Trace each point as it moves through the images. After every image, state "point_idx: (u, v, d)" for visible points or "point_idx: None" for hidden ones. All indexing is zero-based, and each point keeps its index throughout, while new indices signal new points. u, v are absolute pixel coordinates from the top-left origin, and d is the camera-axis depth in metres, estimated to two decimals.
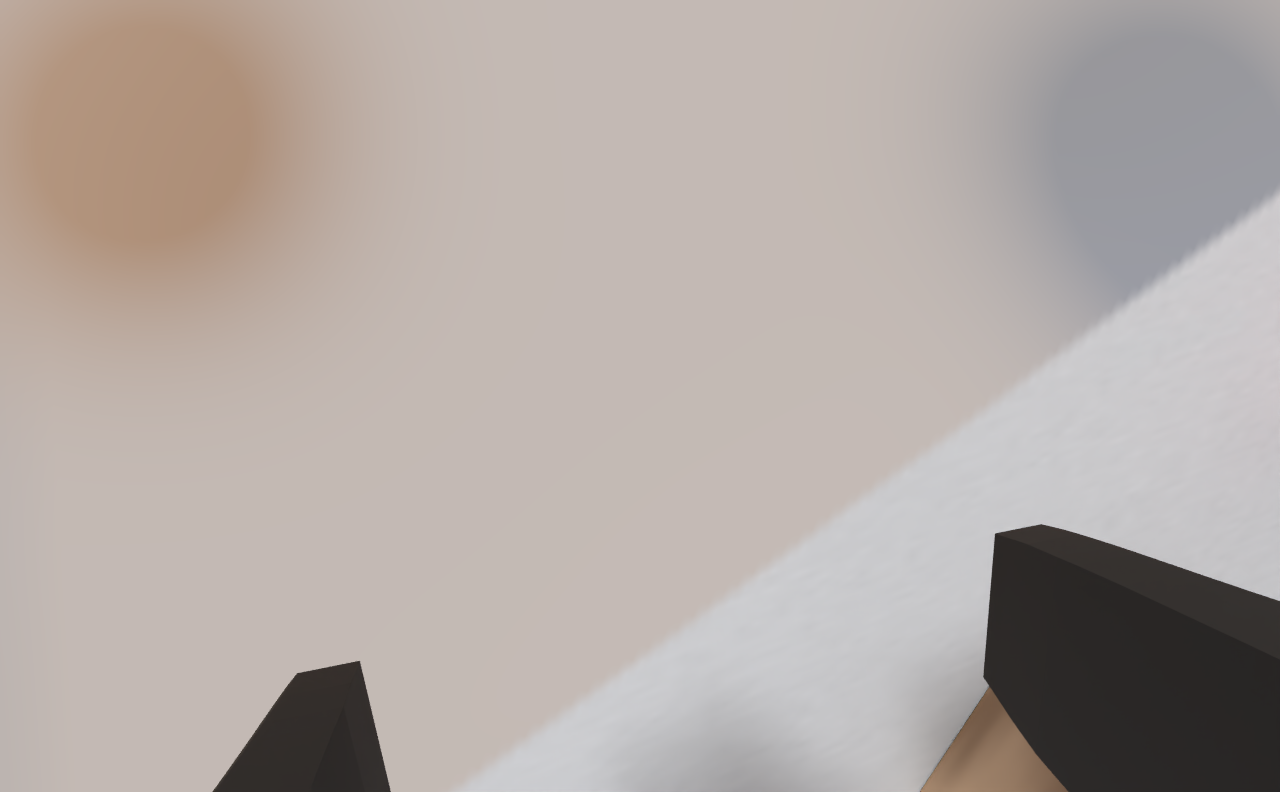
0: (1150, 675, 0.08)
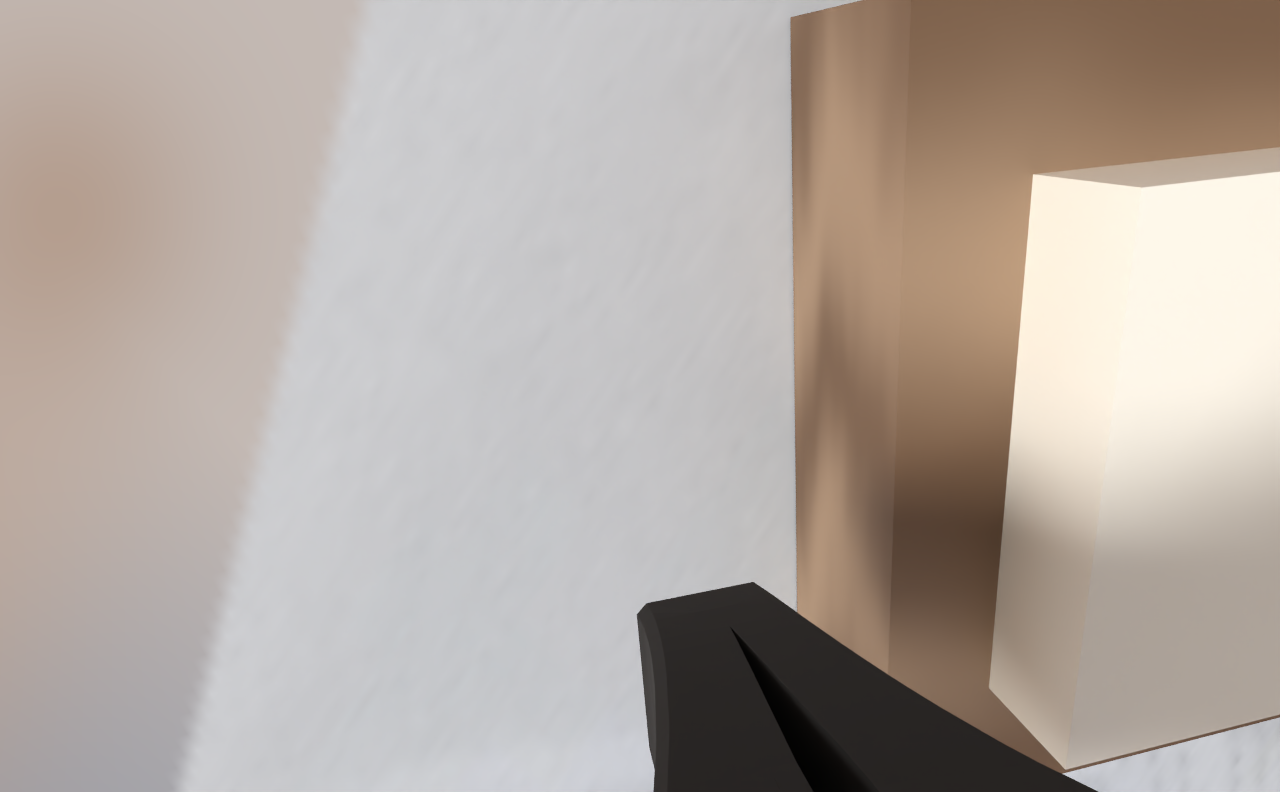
0: None
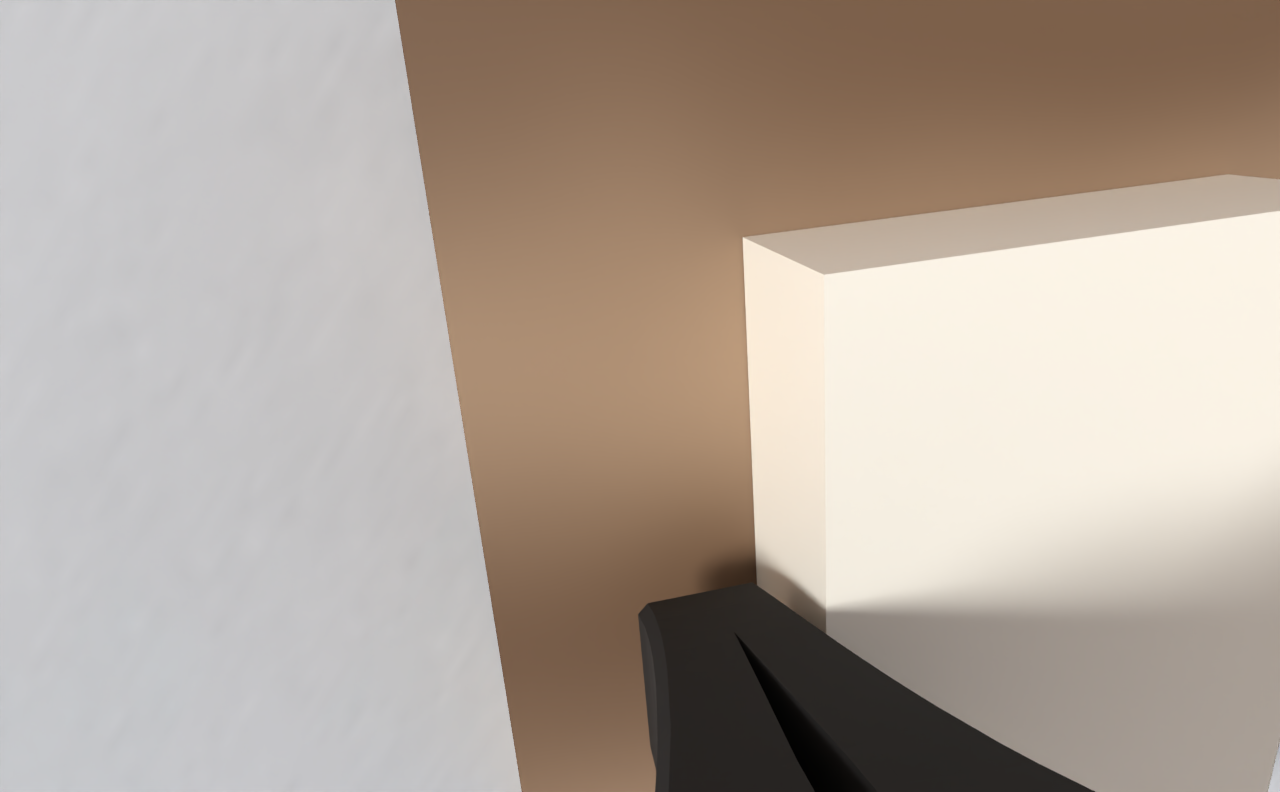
0: None
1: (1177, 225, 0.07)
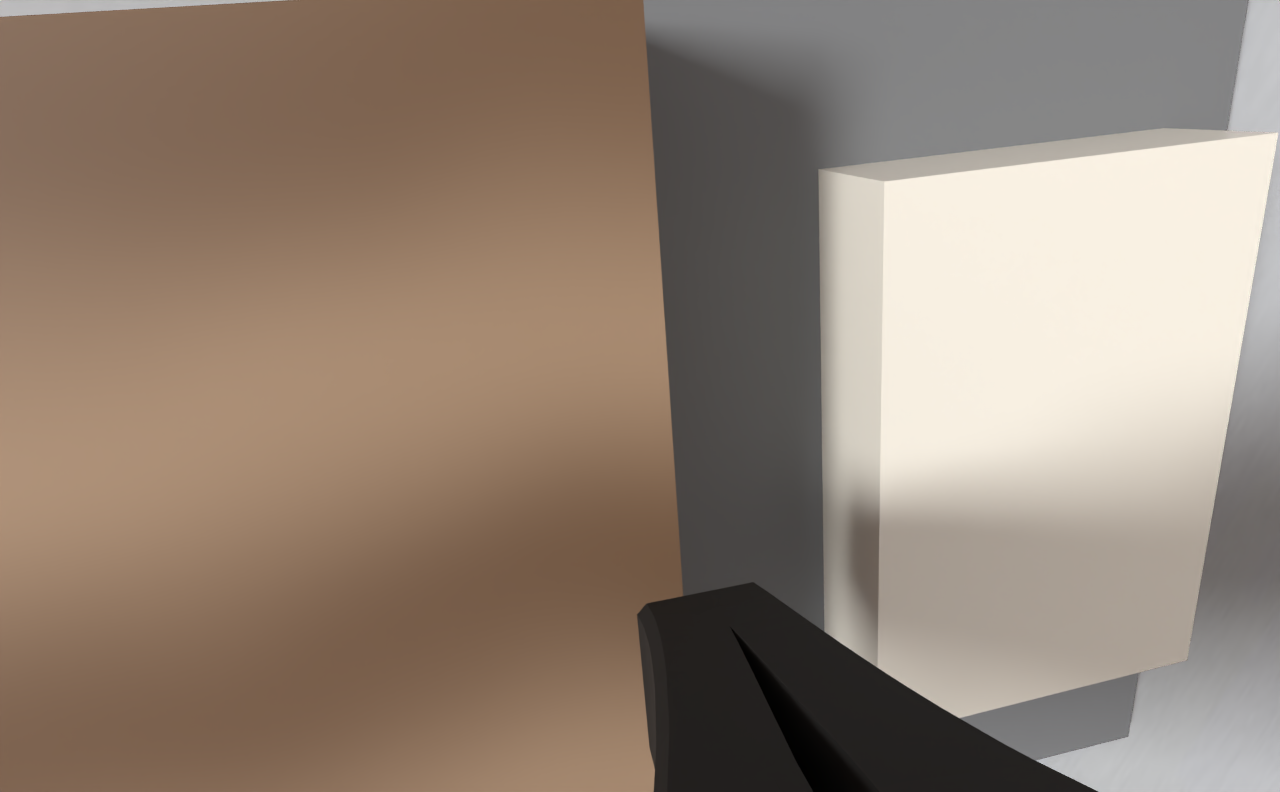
0: None
1: None
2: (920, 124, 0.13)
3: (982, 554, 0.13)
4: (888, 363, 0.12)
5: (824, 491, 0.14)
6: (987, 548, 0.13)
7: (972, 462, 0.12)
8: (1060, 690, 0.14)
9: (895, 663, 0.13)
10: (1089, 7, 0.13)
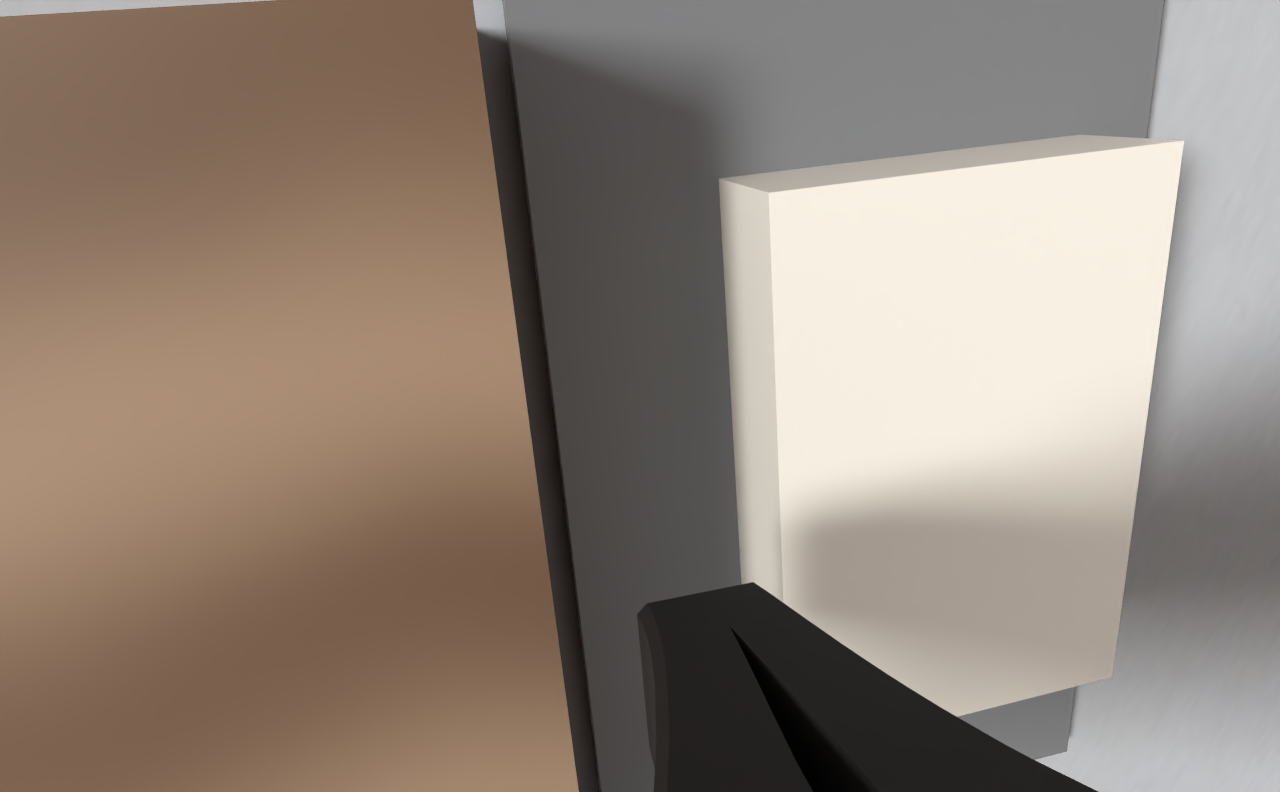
0: None
1: None
2: (824, 132, 0.12)
3: (891, 571, 0.13)
4: (783, 378, 0.11)
5: (738, 506, 0.14)
6: (896, 565, 0.13)
7: (876, 478, 0.12)
8: (980, 708, 0.14)
9: None
10: (997, 11, 0.12)
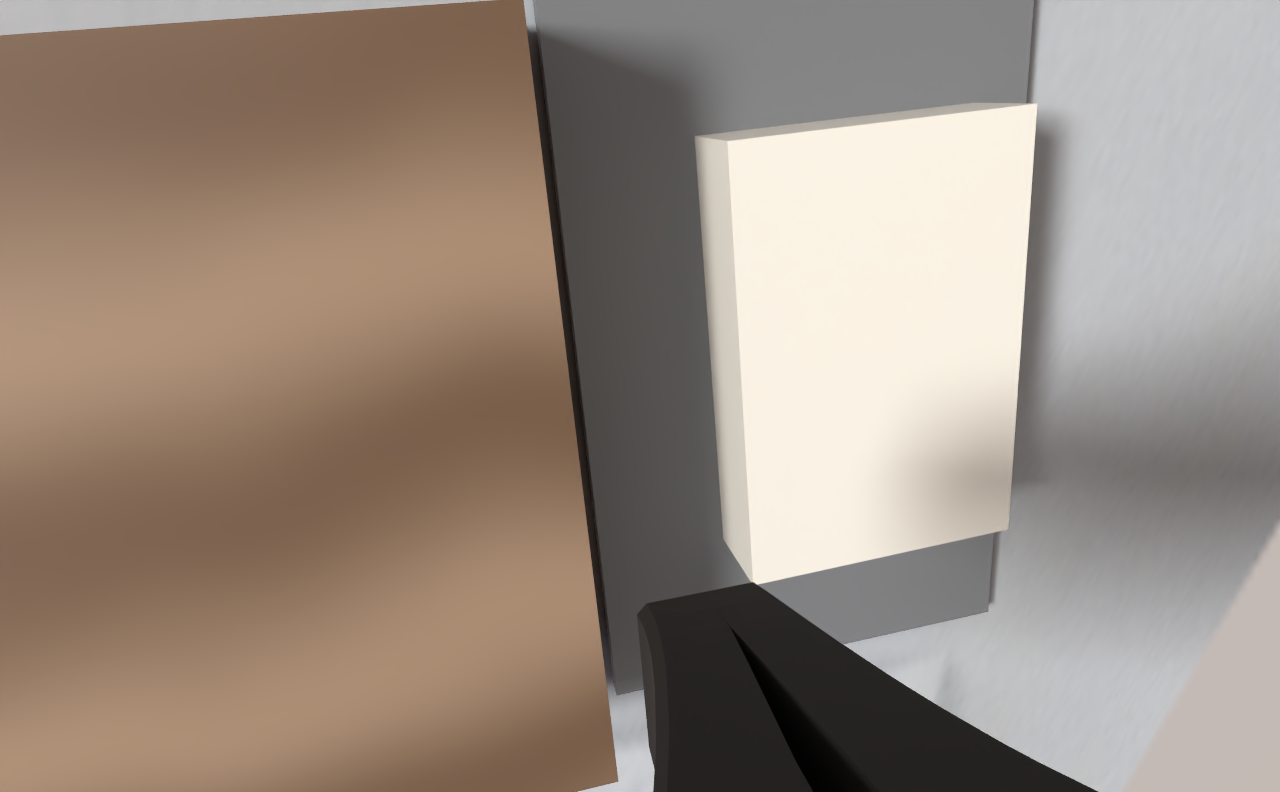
0: None
1: (819, 121, 0.17)
2: (774, 100, 0.16)
3: (828, 434, 0.17)
4: (741, 280, 0.15)
5: (714, 394, 0.18)
6: (831, 429, 0.17)
7: (814, 359, 0.16)
8: (903, 550, 0.18)
9: (764, 522, 0.17)
10: (904, 9, 0.16)
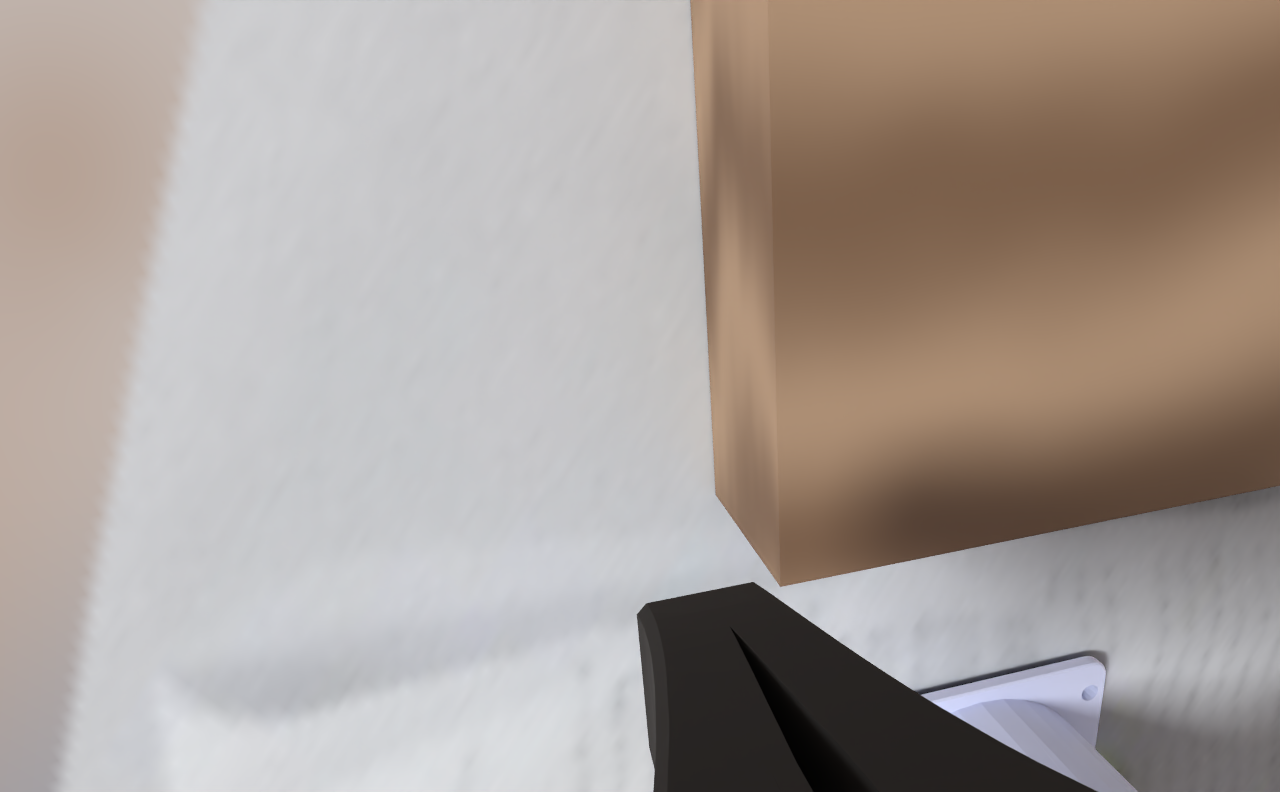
0: None
1: None
2: None
3: None
4: None
5: None
6: None
7: None
8: None
9: None
10: None
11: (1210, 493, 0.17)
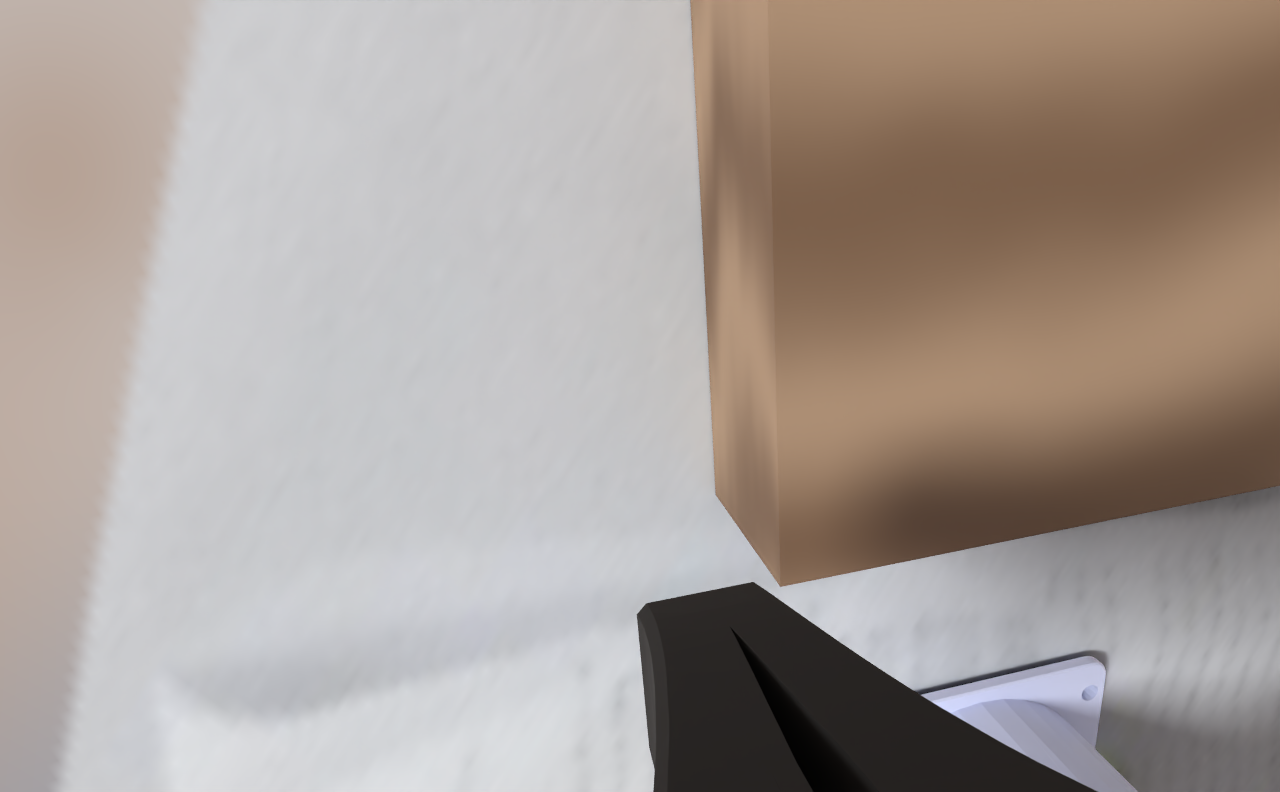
0: None
1: None
2: None
3: None
4: None
5: None
6: None
7: None
8: None
9: None
10: None
11: (1210, 493, 0.17)
